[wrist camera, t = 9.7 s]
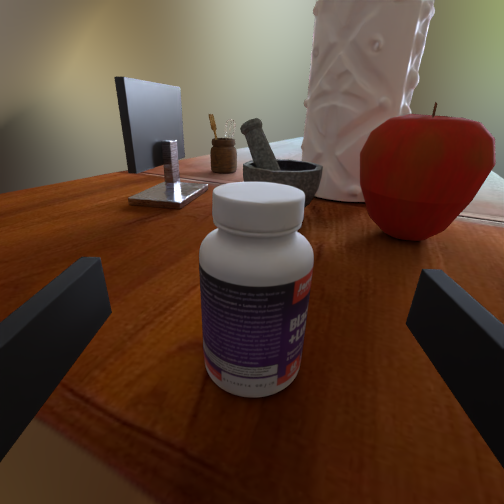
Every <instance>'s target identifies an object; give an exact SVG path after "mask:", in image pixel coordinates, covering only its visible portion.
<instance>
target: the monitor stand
mask: <svg viewBox="0 0 504 504" xmlns="http://www.w3.org/2000/svg"><path fill="white" fill-rule="evenodd" d="M161 145H162V155H163V165H164V175H165V182H163V183H160V184H158V185H156V186H154V187H151V188H149V189H147V190H145V191H143V192H140V193H138V194H136V195H134V196H131V197H129V198H128V202H129V205H139V206H151V207H162V208H174V209H181V208H183V207H184V206H185V205H187V204H188V203H190V202H191V201H193V200H194V199H195V198H197V197H198V196H200V195H201V194H203V193H204V192H205V191H207V190H208V184H198V183H184V182H180V176H179V163H178V150H177V140H164V141H161Z"/></svg>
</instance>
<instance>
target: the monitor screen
mask: <svg viewBox="0 0 504 504" xmlns="http://www.w3.org/2000/svg"><path fill="white" fill-rule="evenodd" d="M115 84H116V91H117V97H118V105H119V111H120V118H121V125H122V132H123V138H124V144H125V152H126V159H127V165H128V173H136V174H137V173H140V172H143V171H146V170H149V169H152V168H155V167H158V166H161V165H163V155H162V145H161V141H164V140H177V150H178V160H179V159H181V158H184V157H185V153H184V140H183V139H184V138H183V122H182V108H181V93H180V87H176V86H171V85H165V84H160V83H154V82H149V81H144V80H137V79H133V78H127V77H115Z"/></svg>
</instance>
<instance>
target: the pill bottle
mask: <svg viewBox="0 0 504 504" xmlns="http://www.w3.org/2000/svg"><path fill="white" fill-rule="evenodd" d="M304 204H305V194H304V192H303V191H302V190H300V189H298V188H295V187H292V186H289V185H284V184H278V183H270V182H236V183H229V184H224V185H221V186H218V187H216V188H215V189H214V190H213V209H212V215H213V222H214V224H215V225H216V226H217V227H218V228H217V229H215V230H214V231H212V232H211V233H209V234H208V235H207V236H206V237H205V239H204V240H203V242H202V243H201V246H200V251H199V271H200V289H201V308H202V328H203V352H204V360H205V366H206V370H207V372H208V374H209V376H210V377H211V379H212V380H213V381H214V382H215V383H216V384H217V385H218V386H219V387H220V388H222V389H223V390H225V391H227V392H229V393H231V394H234V395H238V396H242V397H264V396H269V395H272V394H275V393H277V392H279V391H281V390H283V389H284V388H286V387H287V386H288V385H289V384H291V382H292V381H293V380H294V379H295V377H296V375H297V373H298V371H299V367H300V363H301V357H302V350H303V341H304V334H305V326H306V318H307V310H308V303H309V296H310V287H311V279H312V272H313V265H314V254H313V250H312V247H311V245H310V243H309V242H308V241H307V239H306V238H305V237H304V236H303V235H301V234H300V233H299V232H297V230H299V229H300V227H301V225H302V221H303V218H304Z"/></svg>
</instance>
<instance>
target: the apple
mask: <svg viewBox="0 0 504 504" xmlns="http://www.w3.org/2000/svg"><path fill="white" fill-rule="evenodd" d="M436 107H437V103H436V102H435V106H434V110H433V114H432V115H431V116H430V115H419V114H407V115H402V116H396V117H392V118H389V119H388V120H386V121H385V122H384V123H382V124H381V125H380V126H378V127H377V128H375V129H374V130H373V131H371V133H370V135H369V137H368V139H367V141H366V142H365V144H364V146H363V148H362V150H361V152H360V186H361V189H362V193H363V196H364V200H365V204H366V207H367V211H368V214H369V216H370V218H371V219H372V220H373V221H374V222H375V223H376V224H377V225H378V226H379V227H380V229H381V230H382V231H383V232H384V233H386V234H388V235H390V236H392V237H395V238H398V239H402V240H415V241H420V240H425V239H427V238H429V237H431V236H433V235H436V234H438V233H440V232H442V231H444V230H445V229H446V228H447V227H448V226H449V225H450V224H451V223H452V222H453V220H454V219H455V218H456V217H457V216H458V215H459V214H460V213H461V212H462V211H463V210H464V209H465V208H466V207H467V206H468V204H469V203H470V202H471V201H472V200H473V198H474V197H475V195H476V194H477V192H478V191H479V189H480V188H481V186H482V184H483V183H484V181H485V180H486V178H487V177H488V175H489V173H490V172H491V170H492V169H493V167H494V166H495V138H494V137H493V136H492V135H491V133H489V131H488V130H487V129H486V128H485V127H484V126H483V124H482V123H480V122H476V121H473V120H469V119H466V118H456V117H447V116H435V111H436Z"/></svg>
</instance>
